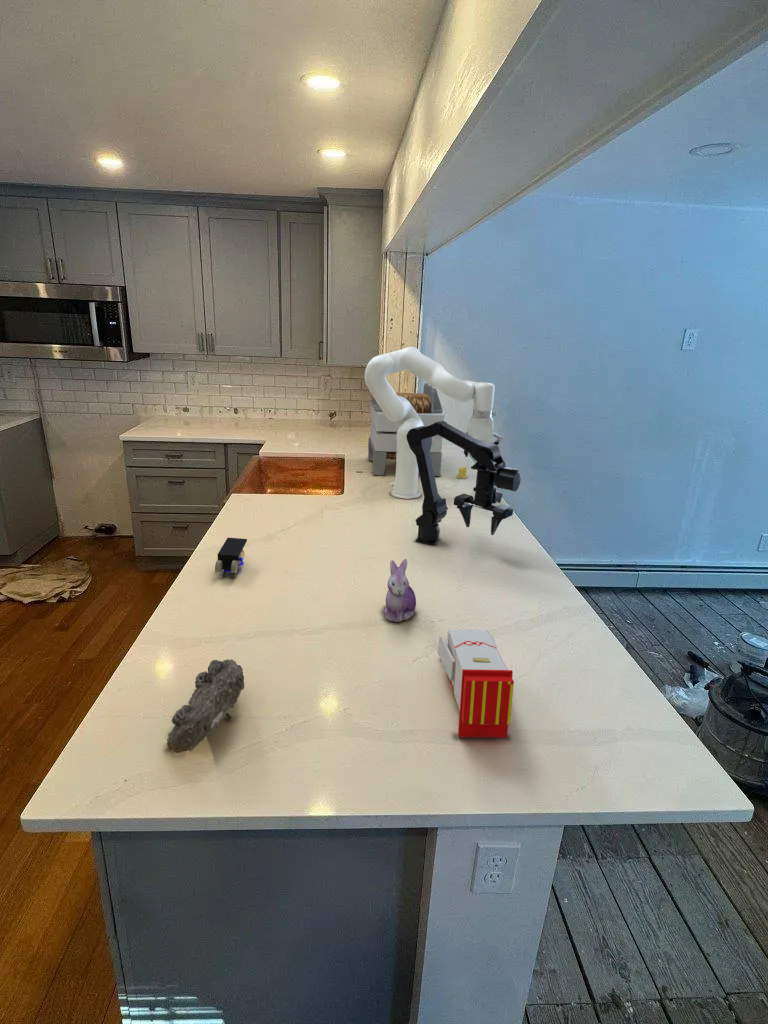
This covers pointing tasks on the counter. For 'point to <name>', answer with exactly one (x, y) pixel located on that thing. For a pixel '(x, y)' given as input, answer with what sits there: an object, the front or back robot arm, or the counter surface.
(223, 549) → the black toy car
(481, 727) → the toy
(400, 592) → the figurine
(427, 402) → the grey crate stand
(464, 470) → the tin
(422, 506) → the front robot arm
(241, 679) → the fossil
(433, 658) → the counter surface
